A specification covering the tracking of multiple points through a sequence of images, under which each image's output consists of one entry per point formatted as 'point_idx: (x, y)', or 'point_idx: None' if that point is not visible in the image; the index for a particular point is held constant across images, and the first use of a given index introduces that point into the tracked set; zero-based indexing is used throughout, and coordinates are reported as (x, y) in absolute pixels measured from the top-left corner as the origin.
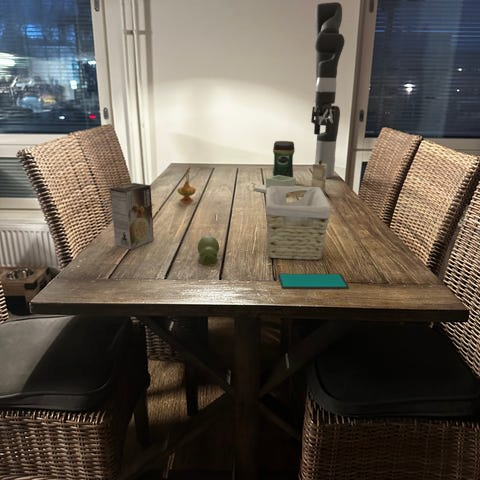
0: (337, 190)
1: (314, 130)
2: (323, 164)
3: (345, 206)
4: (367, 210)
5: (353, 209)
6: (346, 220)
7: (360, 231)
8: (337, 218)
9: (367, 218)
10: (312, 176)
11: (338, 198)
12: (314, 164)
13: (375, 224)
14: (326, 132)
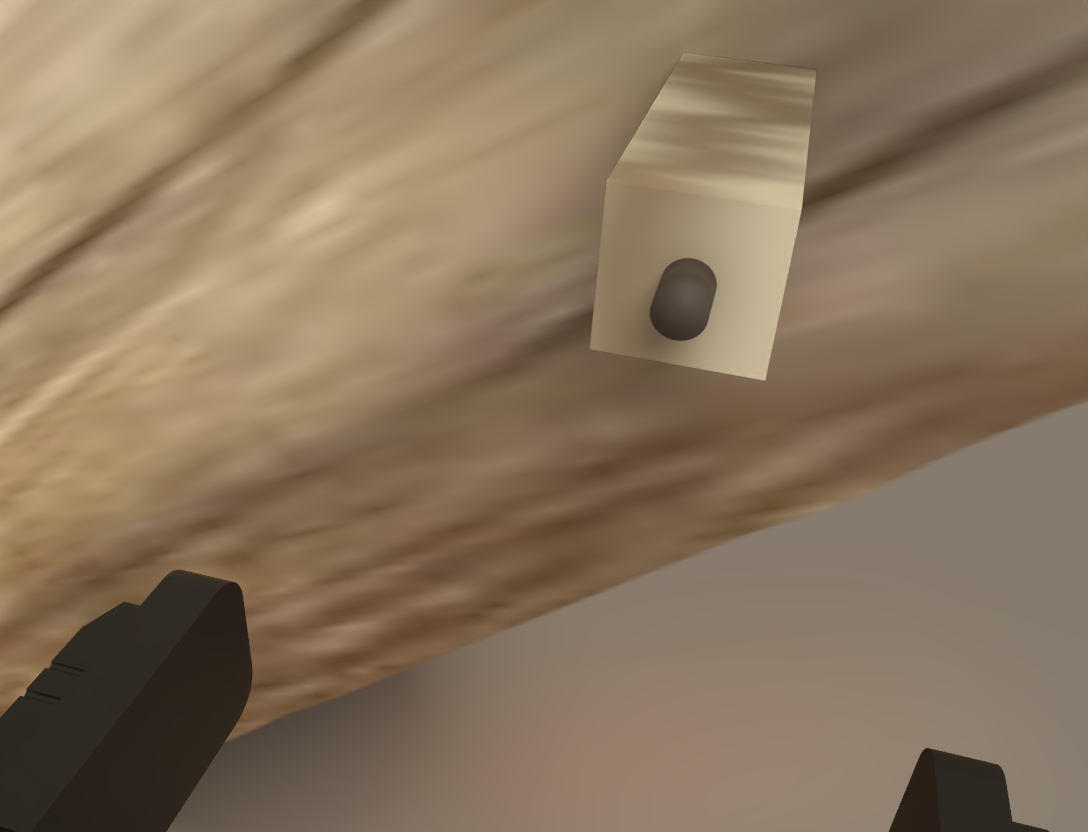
0: (1048, 283)
1: (58, 665)
2: (705, 340)
3: (415, 517)
4: (430, 658)
5: (381, 580)
6: (118, 588)
7: (25, 674)
8: (106, 537)
9: (256, 678)
10: (646, 119)
11: (641, 402)
12: (604, 207)
13: None
14: (911, 778)
